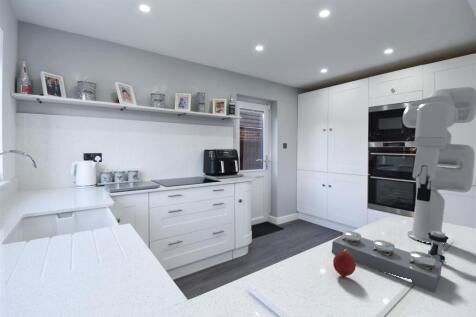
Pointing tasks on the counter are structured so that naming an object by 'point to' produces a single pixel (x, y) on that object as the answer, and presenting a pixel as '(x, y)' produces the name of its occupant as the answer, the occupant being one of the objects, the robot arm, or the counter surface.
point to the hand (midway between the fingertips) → (423, 200)
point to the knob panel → (390, 262)
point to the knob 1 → (352, 237)
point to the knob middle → (383, 247)
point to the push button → (437, 245)
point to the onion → (344, 263)
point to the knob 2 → (422, 259)
